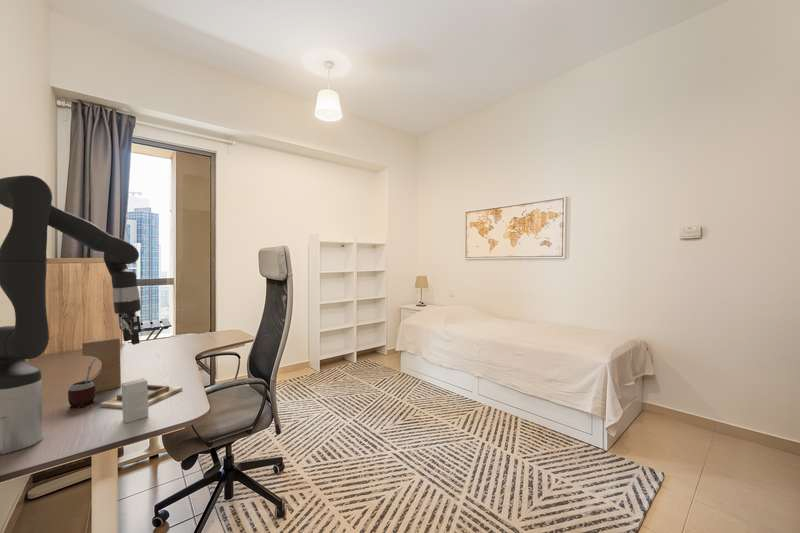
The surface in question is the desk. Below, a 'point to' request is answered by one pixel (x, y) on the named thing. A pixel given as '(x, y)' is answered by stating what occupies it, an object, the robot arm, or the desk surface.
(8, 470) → the desk surface
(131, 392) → the skincare box
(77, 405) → the mate gourd
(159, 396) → the tan wooden flat frame
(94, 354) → the decorative block
